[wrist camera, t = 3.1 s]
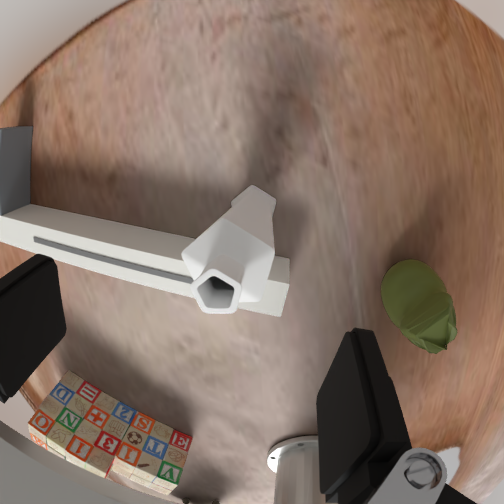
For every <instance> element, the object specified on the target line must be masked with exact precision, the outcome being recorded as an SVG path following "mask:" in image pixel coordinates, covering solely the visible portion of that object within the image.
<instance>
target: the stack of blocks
mask: <svg viewBox="0 0 504 504" xmlns="http://www.w3.org/2000/svg"><path fill="white" fill-rule="evenodd" d="M28 427H29V432H30V435H31V438H32V440H33V441H34V442H35V443H37V444H38V445H40V446H41V447H43V448H44V449H46V450H48V451H50V452H52V453H53V454H55V455H57V456H59V457H61V458H63V459H65V460H67V461H69V462H71V463H73V464H75V465H77V466H79V467H81V468H83V469H85V470H87V471H89V472H92V473H94V474H96V475H98V476H101V477H103V478H106V479H107V477H108V475H109V474H110V472H111V470H112V471H114V472H116V473H118V474H120V475H122V476H124V477H126V478H128V479H130V480H132V481H134V482H136V483H138V484H141V485H143V486H145V487H148V488H150V489H152V490H155V491H157V492H159V493H162V494H165V495H168V494H169V493H170V492H172V490H173V489H174V488H175V487H176V486H178V483H179V480H180V477H181V474H182V471H183V466H184V464H185V461H186V458H187V455H188V450H189V448H190V445H191V442H192V437H191V436H188V435H186V434H183V433H181V432H179V431H177V430H174V429H173V428H171V427H169V426H167V425H165V424H163V423H160V422H158V421H155V420H154V419H152V418H150V417H148V416H146V415H144V414H142V413H141V412H139V411H136V410H134V409H132V408H131V407H129V406H127V405H125V404H123V403H121V402H119V401H118V400H116V399H114V398H112V397H111V396H109V395H107V394H105V393H104V392H102V391H101V390H99V389H98V388H96V387H94V386H93V385H91V384H89V383H88V382H86V381H85V380H83V379H82V378H80V377H79V376H77V375H76V374H74V373H73V372H71V371H70V370H68V371H67V372H66V374H65V375H64V376H63V377H62V379H61V380H60V381H59V383H58V384H57V385H56V386H55V388H54V389H53V390H52V391H51V392H50V394H49V395H48V396H47V397H46V398H45V399H44V401H43V402H42V403H41V404H40V406H39V407H38V410H37V411H36V413H35V414H34V415H33V417H32V418H31V419H30V421H29V422H28Z"/></svg>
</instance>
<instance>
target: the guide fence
mask: <svg viewBox="0 0 504 504" xmlns="http://www.w3.org/2000/svg"><path fill="white" fill-rule="evenodd" d="M32 132H33V126H16V127H7V128H0V241H1V242H4V243H7V244H10V245H12V246H15V247H18V248H21V249H24V250H27V251H30V252H33V253H36V254H43V255H46V256H49V257H52V258H53V259H55V260H58V261H61V262H64V263H68V264H71V265H74V266H78V267H81V268H84V269H88V270H91V271H94V272H98V273H101V274H105V275H108V276H112V277H115V278H119V279H123V280H126V281H130V282H133V283H137V284H141V285H145V286H148V287H152V288H156V289H160V290H164V291H168V292H172V293H176V294H180V295H184V296H188V297H192V298H195V297H194V295H193V293H192V291H191V289H190V284H191V283H192V282H193V281H194V280H193V278H192V276H191V274H190V272H189V270H188V268H187V266H186V264H185V262H184V260H183V258H182V255H181V254H182V252H183V250H184V249H185V248H187V247H188V246H189V245H190V244H191V243H192V242H193V241H194V240H195V238H190V237H185V236H181V235H176V234H171V233H166V232H162V231H157V230H152V229H147V228H143V227H138V226H133V225H129V224H124V223H119V222H114V221H110V220H105V219H100V218H95V217H91V216H86V215H81V214H76V213H72V212H67V211H62V210H57V209H53V208H48V207H43V206H38V205H34V204H30V167H31V146H32ZM289 285H290V259H289V258H284V257H279V256H275V255H274V259H273V262H272V266H271V269H270V273H269V276H268V279H267V283H266V286H265V289H264V293H263V296H262V299H261V300H260V301H259V302H239V303H238V307H237V308H240V309H244V310H249V311H254V312H258V313H263V314H268V315H273V316H278V317H281V314H282V310H283V307H284V303H285V299H286V296H287V292H288V288H289Z"/></svg>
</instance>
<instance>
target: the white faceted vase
mask: <svg viewBox="0 0 504 504" xmlns="http://www.w3.org/2000/svg"><path fill="white" fill-rule="evenodd" d="M231 206H232V208H230V209H229V210H228V211H227V212H226V213H225V214H224V215H222V216H221V217H220V218H219V219H218V220H217V221H216V222H214V223H213V224H212V225H211V226H210V227H209V228H208V229H207V230H205V231H204V232H203V233H202V234H201V235H200V236H199V237H198V238H196V239H195V240H194V241H193V242H192V243H191V244H190V245H189V246H188V247H187V248H185V249H184V250H183V252H182V254H181V255H182V258H183V260H184V262H185V264H186V266H187V268H188V270H189V272H190V274H191V276H192V278H193V280H194V281H193V282H192V283H191V284H190V289H191V291H192V293H193V295H194V297H195V299H196V301H197V303H198V305H199V306H200V308H201V310H202V311H203V312H205V313H213V314H230V313H234V312H236V310H237V307H238V303H239V302H259V301H260V300H261V299H262V296H263V293H264V289H265V286H266V283H267V279H268V276H269V273H270V269H271V266H272V262H273V259H274V255H275V247H274V235H273V223H272V217H273V213H274V209H275V206H276V199H275V198H273V197H272V196H270V195H269V194H267V193H266V192H264V191H262V190H261V189H259V188H258V187H256V186H254V185H250V186H249V187H248V188H247V189H245V190H244V191H243V192H242V193H241V194H239V195H238V196H237V197H236V198H235V199H233V200H232V201H231Z"/></svg>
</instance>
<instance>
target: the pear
mask: <svg viewBox="0 0 504 504" xmlns="http://www.w3.org/2000/svg"><path fill="white" fill-rule="evenodd" d="M381 297H382V302H383V305H384V307H385V310H386V312H387V314H388V316H389V318H390V319H391V321H392V322H393V323H394V324H395V325H396V326H397V327H398V328H399V329H400V330H401V332H402V334H403V335H404V336H405V337H407V338H408V339H409V340H410V341H411V342H412V343H413V344H415V345H416V346H418V347H420V348H422V349H425V350H427V351H428V352H429V353H435V354H437V353H438V352H440V351H441V350H447V349H446V348H447V344H448V343H449V342H451V341H452V340H454V339H455V337H456V335H457V329H456V315H455V310H454V306H453V301H452V298H451V296H450V295H449V294H448V293H447V291H446V288H445V285H444V283H443V282H442V280H441V279H440V277H439V276H438V275H437V274H436V272H435V271H434V270H433V269H432V268H430V267H429V266H428V265H427V264H425V263H423V262H421V261H419V260H415V259H407V260H403V261H400V262H398V263H396V264H395V265H393V266H392V267H391V268H390V269H389V270H388V271H387V273H386V274H385V276H384V278H383V280H382V284H381ZM445 345H446V346H445Z"/></svg>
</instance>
